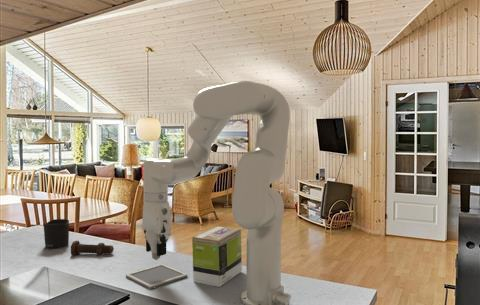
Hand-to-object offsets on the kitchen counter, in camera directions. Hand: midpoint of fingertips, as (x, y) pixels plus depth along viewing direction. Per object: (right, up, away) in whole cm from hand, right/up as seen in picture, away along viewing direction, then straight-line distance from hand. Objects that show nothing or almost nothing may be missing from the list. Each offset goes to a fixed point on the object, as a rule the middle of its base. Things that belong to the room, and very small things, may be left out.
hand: (156, 252), depth 128 cm
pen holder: (-48, -6, +35) cm, 59 cm away
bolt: (-29, -7, +24) cm, 38 cm away
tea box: (+20, -8, +1) cm, 22 cm away
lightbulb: (0, -3, 0) cm, 3 cm away
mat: (0, -8, 0) cm, 8 cm away
